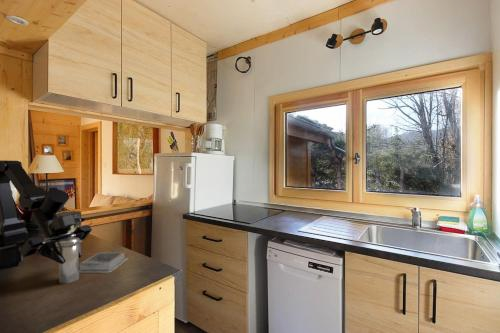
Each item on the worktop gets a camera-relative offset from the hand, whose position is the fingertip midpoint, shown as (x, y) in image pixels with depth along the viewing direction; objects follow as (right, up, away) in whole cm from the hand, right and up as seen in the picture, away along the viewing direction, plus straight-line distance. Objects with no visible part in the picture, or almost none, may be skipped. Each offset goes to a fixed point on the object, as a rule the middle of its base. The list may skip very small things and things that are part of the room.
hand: (72, 259), depth 78 cm
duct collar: (+3, -6, +12) cm, 14 cm away
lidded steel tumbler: (-1, -7, +1) cm, 7 cm away
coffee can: (-28, -6, +37) cm, 47 cm away
